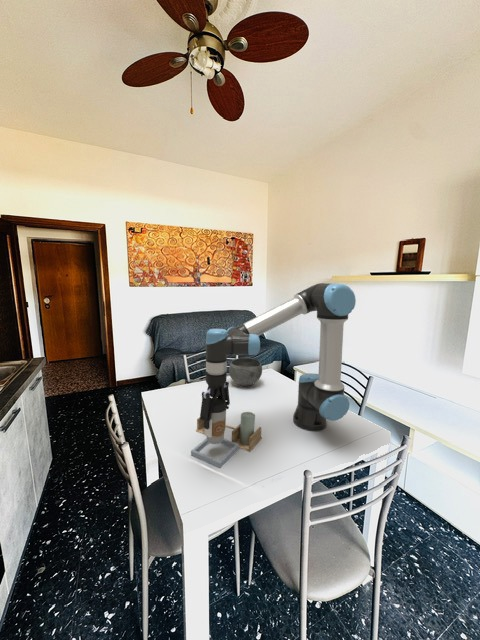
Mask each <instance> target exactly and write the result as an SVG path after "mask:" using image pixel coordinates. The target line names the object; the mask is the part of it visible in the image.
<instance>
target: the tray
mask: <svg viewBox="0 0 480 640" xmlns="http://www.w3.org/2000/svg"><path fill="white" fill-rule="evenodd" d="M208 444H210V443H209V442H208V440H207V437H206V438H205V439H204V440H202V442H200V443H198V444H197V446H195V447H194V448H193V449H191V450H190V456H192V457H194V458H196V459H198V460H200V461H202V462H205V463H208V464H210V465H212V466H213V467H214V466H215V467H216V468H219V469H221V468H222V466H224V465H225V464H226V462H228V461H229V460H230V458H231V457H232V456H233V455H234V454H235V453H236V452H237V451H238V450H239V449H240V448H239V444H237V443H235V442H232V440H229V439H227V438H224V439H223V441H222V442H221V443H220V444H222V445H224V446H227V447H230V448H231V449H230V450H229V451H228V452H227V453H225V454H224V455H223V456H222V458H221V459H219V460H218V459H216V458H213V457H211V456H209V455H208V454H207V455H206V454H204V453H202V452H200V451H201V450H202V449H203V448H205V447H206V446H207V445H208Z"/></svg>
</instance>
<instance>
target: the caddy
mask: <svg viewBox="0 0 480 640" xmlns="http://www.w3.org/2000/svg"><path fill="white" fill-rule="evenodd" d="M240 425H241V423H240V424H238V425H237V426H236V427H234V426H230V425H228V424H226V425H225V428H228V429H231V430H232V431H231V441H232V442H235V443H237V444H239V449H240V450H244V451H246V452H248V453H251V451H253V449H254V448H255V447H256V446H257V444H258V443H259V442H260V441H261V440H262V439H263V437H262V426H259V427H258V428H257V429H256V430H254V433H253V434H252V435H251V436H250V437H249V445H244V444H242V443H240ZM195 432H196V433H199V434H202V435H204V436H205V428H204V421H203V420H200V417H198V418H197V419H196V430H195Z"/></svg>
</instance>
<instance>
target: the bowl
mask: <svg viewBox="0 0 480 640" xmlns="http://www.w3.org/2000/svg"><path fill="white" fill-rule="evenodd" d="M262 373H263V365H262V363H261V361H260V360H258V359H257V358H254V357H253V358H252V357H239V358H235V359H233V360H231V361H230V363H229V367H228V375H229V377H230V379H231V380H232V381H233V383H235V384H236V385H239V386H242V387H243V386H244V387H248V386H252V385H254V384H256V383H257V382H258V381H259V380H260V378H261V377H262Z"/></svg>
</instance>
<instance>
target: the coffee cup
mask: <svg viewBox="0 0 480 640" xmlns="http://www.w3.org/2000/svg"><path fill="white" fill-rule="evenodd" d="M212 398H213V397H212ZM213 399H214V398H213ZM227 410H228V409H227V404H226V401H225V400H224V399H223V400H222V399H219V398H218V397H217V400H216V401H215V403H214V406H213V409H212V415H211V419H212V437H211V438H210V437H207V436H206V438H207V440H208V442H209V443H208V444H211V445H218V444H222V443H221V442H222V441H223V439H225V430H226V427H225V421H227Z"/></svg>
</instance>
